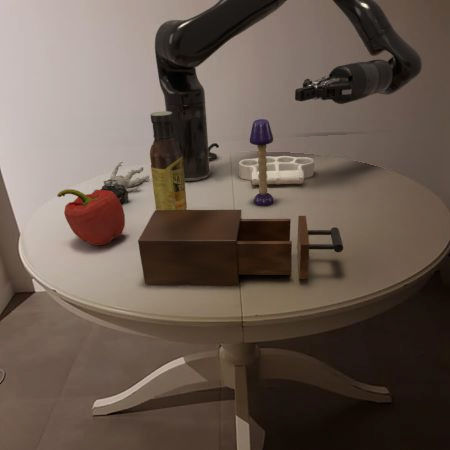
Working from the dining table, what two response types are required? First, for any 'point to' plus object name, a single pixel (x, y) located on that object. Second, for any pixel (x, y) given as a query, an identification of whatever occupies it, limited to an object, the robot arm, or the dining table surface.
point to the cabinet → (191, 247)
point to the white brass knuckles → (278, 169)
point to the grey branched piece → (126, 179)
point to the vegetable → (95, 216)
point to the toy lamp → (262, 158)
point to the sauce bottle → (166, 165)
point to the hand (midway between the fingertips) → (297, 95)
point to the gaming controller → (117, 191)
